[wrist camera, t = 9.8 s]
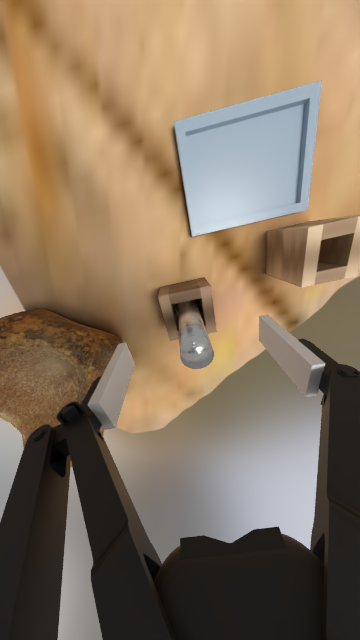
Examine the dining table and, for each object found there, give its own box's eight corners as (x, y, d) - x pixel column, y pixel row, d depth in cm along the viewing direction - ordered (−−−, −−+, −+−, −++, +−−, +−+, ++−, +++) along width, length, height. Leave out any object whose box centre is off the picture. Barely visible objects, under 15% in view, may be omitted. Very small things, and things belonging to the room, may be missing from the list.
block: (266, 231, 23) (308, 227, 16) (311, 221, 23) (374, 212, 16) (266, 274, 26) (301, 287, 19) (305, 265, 25) (357, 276, 18)
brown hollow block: (160, 286, 26) (157, 296, 22) (204, 277, 26) (210, 285, 21) (170, 325, 29) (170, 340, 25) (210, 317, 29) (216, 331, 24)
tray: (174, 128, 18) (174, 121, 17) (312, 90, 18) (321, 80, 16) (191, 236, 23) (192, 236, 22) (301, 211, 22) (307, 209, 21)
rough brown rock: (165, 358, 32) (158, 442, 19) (108, 397, 37) (70, 488, 23) (59, 262, 24) (-85, 289, 11) (2, 326, 28) (-152, 404, 15)
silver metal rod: (175, 296, 27) (177, 345, 14) (194, 292, 27) (211, 338, 14) (179, 312, 28) (184, 371, 16) (197, 309, 28) (215, 365, 15)
